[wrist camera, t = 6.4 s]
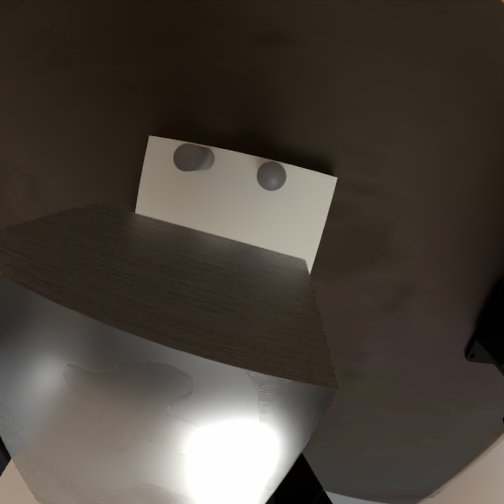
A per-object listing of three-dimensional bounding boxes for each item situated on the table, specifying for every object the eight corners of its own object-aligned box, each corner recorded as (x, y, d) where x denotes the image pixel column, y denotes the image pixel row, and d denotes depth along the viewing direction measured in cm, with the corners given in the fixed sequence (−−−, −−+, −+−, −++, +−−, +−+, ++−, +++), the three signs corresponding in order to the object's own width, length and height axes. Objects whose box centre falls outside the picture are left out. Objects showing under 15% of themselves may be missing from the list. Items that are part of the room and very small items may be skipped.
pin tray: (333, 176, 16) (351, 180, 12) (270, 381, 20) (267, 423, 16) (156, 137, 16) (124, 130, 12) (129, 342, 20) (103, 375, 16)
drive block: (305, 259, 8) (338, 389, 3) (228, 464, 10) (209, 568, 6) (94, 202, 8) (-49, 247, 3) (91, 417, 10) (37, 501, 6)
